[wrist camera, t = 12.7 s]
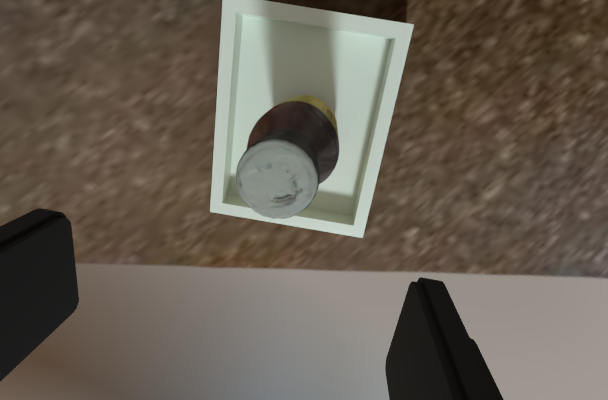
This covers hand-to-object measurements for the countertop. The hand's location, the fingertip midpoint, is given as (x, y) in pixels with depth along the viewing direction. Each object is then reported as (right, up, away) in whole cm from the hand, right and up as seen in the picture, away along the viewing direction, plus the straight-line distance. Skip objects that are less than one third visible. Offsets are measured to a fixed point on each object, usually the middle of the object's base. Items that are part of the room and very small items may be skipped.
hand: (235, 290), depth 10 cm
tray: (+2, +10, +27) cm, 29 cm away
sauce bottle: (+2, +10, +26) cm, 28 cm away
